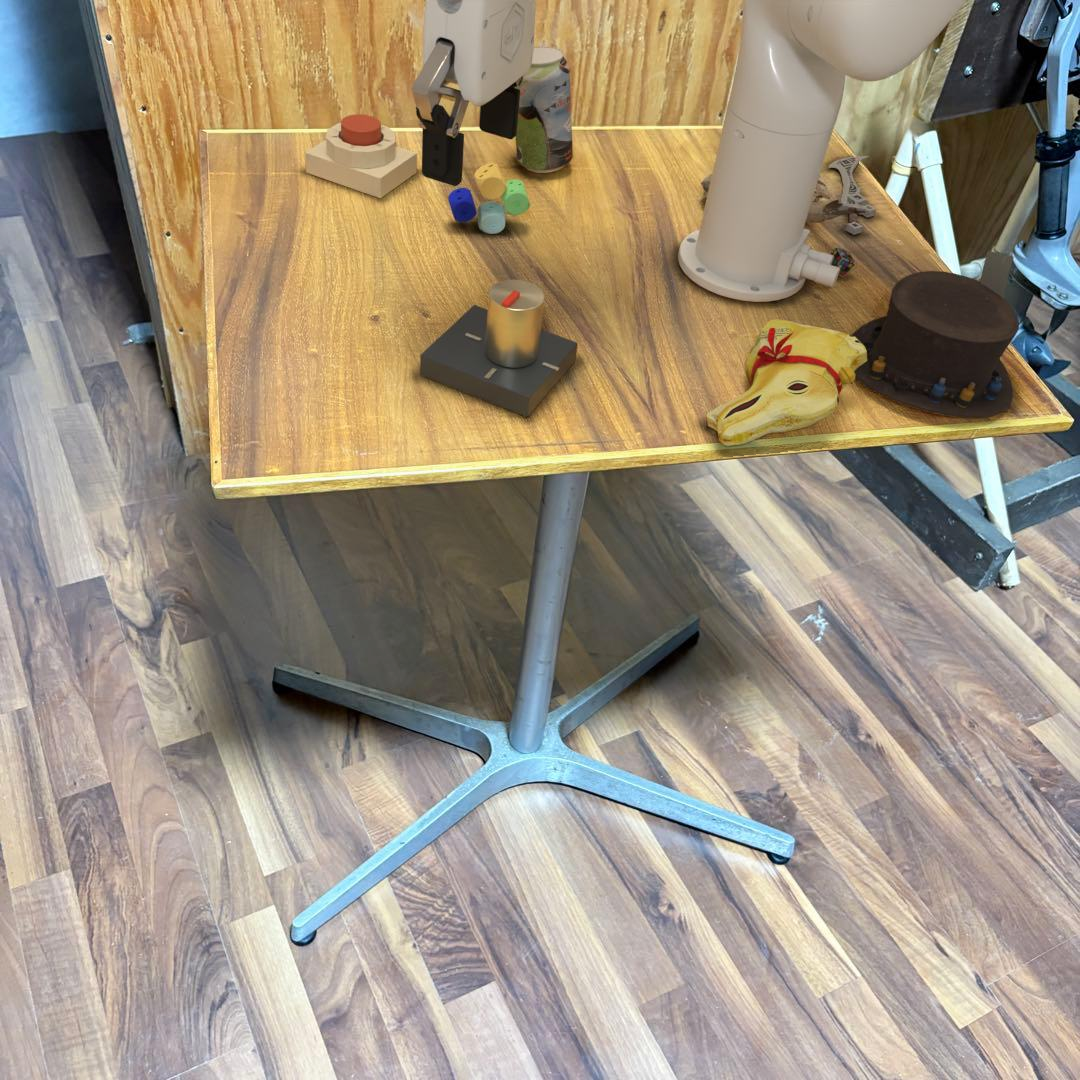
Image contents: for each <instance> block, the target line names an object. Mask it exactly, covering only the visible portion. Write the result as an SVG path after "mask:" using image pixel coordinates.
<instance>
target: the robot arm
mask: <svg viewBox="0 0 1080 1080" xmlns="http://www.w3.org/2000/svg"><path fill="white" fill-rule="evenodd" d="M967 1H968V0H742V15H741V19H742V20H741V32H740V41H739V47H738V55H737V61H736V65H735V71H734V75H733V80H732V85H731V89H730V95H729V97H728V98H729V99H728V101H727V106H726V111H725V115H724V118H723V124H722V129H721V132H720V136H719V137H720V138H719V142H718V147H717V151H716V154H715V159H714V164H713V169H712V173H711V174H712V177H711V182H710V186H709V191H708V195H707V198H706V200H705V205H704V209H703V213H702V218H701V223H700V226H699V228H698V229H696V230H695V231H693V232H690V233H689V234H687V235H686V236H685V237H684V238H683V239H682V241H681V242H680V245H679V249H678V253H677V261H678V265H679V267H680V268H681V270H682V272H683V273H684V274H685V275H686V276H687V277H688V278H689V279H690V280H691V281H692V282H694V283H695V284H696V285H698V286H699V287H701V288H703V289H705V290H707V291H709V292H711V293H713V294H715V295H718V296H721V297H725V298H728V299H732V300H736V301H742V302H751V303H752V302H754V303H768V302H776V301H780V300H783V299H786V298H790V297H791V296H793V295H795V294H797V293H798V292H799V291H800V290H801V289H802V288H803V287H804V284H805V283H806V279H808V280H810V281H813V282H814V283H816V284H819V285H822V286H826V287H828V288H832V289H833V288H834V286H835V285H836V282H837V279H838V278H839V272H840V268H839V267H836V266H833V265H831V264H832V261H833V258H834V255H831V254H830V253H827V252H824V251H819V250H816V249H813V248H812V245H810V244H807V243H808V239H809V237H810V234H811V230H810V229H807V228H805V225H806V223H807V222H806V219H807V216H808V212H809V209H810V206H811V202H812V199H813V195H814V192H815V191H816V190H817V186H818V183H817V182H818V180H819V179H820V177H819V176H821V173H822V172H821V171H822V170H823V165H824V162H825V158H826V155H827V152H828V148H829V145H830V141H831V139H832V136H833V131H834V128H835V126H836V123H837V120H838V117H839V113H840V110H841V107H842V102H843V97H844V93H845V84H846V76H847V77H849V78H851V79H854V80H857V81H859V82H878V81H883V80H887V79H889V78H891V77H893V76H895V75H897V74H899V73H900V72H902V71H903V70H905V69H906V68H907V67H908V66H910V65H911V64H912V63H913V62H914V61H915V60H917V59H918V58H919V57H920V56H921V55H922V54H923V53H924V52H925V51H926V50H927V49H928V47H929V46H931V44H932V43H933V42H934V41H935V40H936V39H937V37H938V36H939V35H940V33H941V32H942V31H943V30H944V29H945V28H946V26H948V25H949V23H950V22H951V20H952V19H953V18H954V17H955V15H956V14H957V13H958V12H959V11H960V10H961V8H962V7H963V6H964V5H965V3H966V2H967ZM536 12H537V0H425V4H424V13H423V15H424V16H423V31H422V32H423V33H422V55H421V56H422V59H421V60H422V68H421V70H420V71H419V73H418V75H417V77H416V78H415V80H414V82H413V84H412V88H411V89H412V90H411V93H412V96H413V99H414V104H415V114H416V117H417V118H418V120H419V121H418V125H419V127H420V129H422V138H421V141H422V142H421V175H422V176H423V177H425V178H427V179H431V180H433V181H436V182H440V183H443V184H446V185H449V186H453V187H457V186H459V185H461V183H462V182H463V170H464V169H463V167H464V166H463V165H464V150H465V149H464V146H465V133H462V132H460V130H461V128H462V127H461V126H462V124H463V121H464V117H465V115H466V112H467V109H468V106H469V103H471V104H472V105H473V106H477V107H479V123H478V127H479V129H480V131H481V132H484V133H487V134H490V135H494V136H497V137H500V138H503V139H506V140H513V139H514V138H515V136H516V134H517V124H518V112H519V101H520V90H519V89H516V88H515V87H518V88H519V87H520V86H521V85H522V82H523V77H524V74H525V73H526V72H527V71H528V70H529V68H530V66H531V64H532V60H533V49H534V47H535V46H534V45H535V31H536ZM448 84H454V85H457V86H458V88H459V89H457V88H454V87H451V86H447V85H448ZM441 99H443V100H447V101H450V102H454V103H453V106H452V109H451V112H450V114H449V113H448V111H447V110H446V109H445V107H444V106H443V105H441V104H440V103H441Z"/></svg>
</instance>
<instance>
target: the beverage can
mask: <svg viewBox="0 0 1080 1080" xmlns="http://www.w3.org/2000/svg"><path fill="white" fill-rule="evenodd" d="M570 69H571V67H570V65H569V62H568V61H567V59H566V57H564V51H563V50H561V49H560V48H557V47H554V46H547V45H546V46H545V45H541V46H539V45H538V46H534V49H533V60H532V64H531V66H530V68H529V70H528V71H527V72H526V73H525V74H524V77H523V82H522V85H521V86H520V87H519V88H518V87H515V88H516V89H519V90H520V101H519V112H518V124H517V134H516V136H515V137H514V138H515V149H516V151H515V152H516V160H517V162H518V164H519V165H520V166H522V167H524V168H525V169H526V170H528V171H529V172H533V173H536V174H537V173H539V174H549V173H554V172H558V171H560V170H561V169H563V168H564V167H565V166H566V165H567V164H569V163H570V162H571V161H572V159H573V156H574V151H573V125H572V124H573V123H572V121H573V120H572V97H571V96H572V94H571V70H570Z"/></svg>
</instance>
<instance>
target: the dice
mask: <svg viewBox="0 0 1080 1080" xmlns="http://www.w3.org/2000/svg"><path fill="white" fill-rule="evenodd" d="M474 180H475V183H476V185H477V187H478V190H479V192H480V194H481V196H482V198H483V199H485V200H487V201H484V202H482V203H480V204H479V205H478V206H477V208H476V205H475V200H474V198H473V194H472V191H471V190H470V189H469V188H467V187H457V188H455V189H453V190H452V191H451V192H450V193H449V195H448V197H447V198H448V202H449V206H450V210H451V213H452V216H453V219H454V221H456V222H458V223H467V222H470V221H472V220H473V219H474V218H475V217H476V216H477V225H478V228H479V230H480V231H481V232H483V233H485V234H490V235H495V234H499V233H501V232H503V230H505V228H506V214H507V215H510V216H519V215H520V216H521V215H522V214H524V213H525V212H527V211H528V210H529V209H530V206H531V203H530V200H529V196H528V194H527V191H526V187H525V185H524V182H523V180H520V179H516V178H515V179H509V180H507V181H506V180H505V178H504V176H503V173H502V171H501V169H500V167H499V165H498V164H497V163H494V162H489V163H486V164H485V163H484V164H483V165H481V166H480V167H479V168H478V169H476V171H475V173H474ZM499 198H501V200H502V203H503V205H502V204H501V203H499V202H497V201H495V200H497V199H499Z"/></svg>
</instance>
